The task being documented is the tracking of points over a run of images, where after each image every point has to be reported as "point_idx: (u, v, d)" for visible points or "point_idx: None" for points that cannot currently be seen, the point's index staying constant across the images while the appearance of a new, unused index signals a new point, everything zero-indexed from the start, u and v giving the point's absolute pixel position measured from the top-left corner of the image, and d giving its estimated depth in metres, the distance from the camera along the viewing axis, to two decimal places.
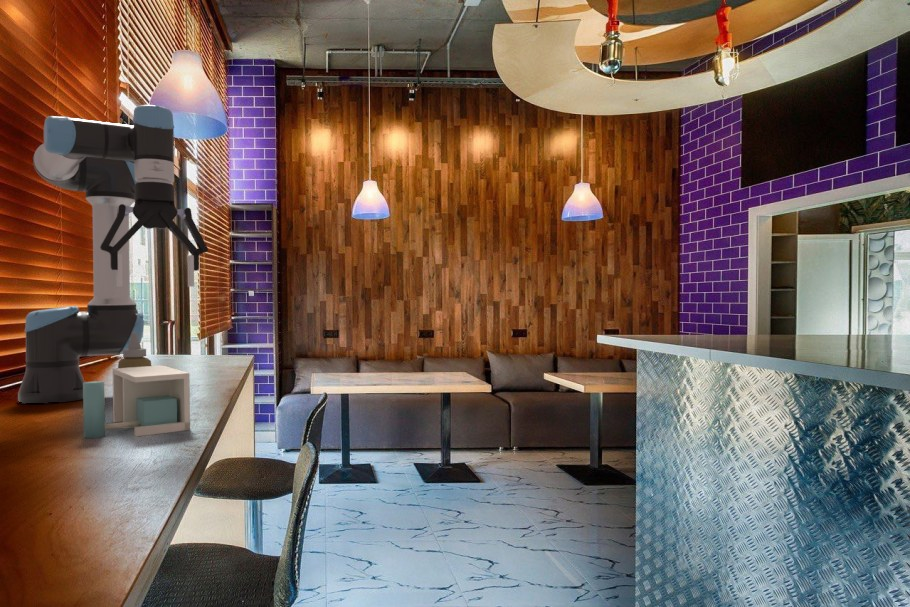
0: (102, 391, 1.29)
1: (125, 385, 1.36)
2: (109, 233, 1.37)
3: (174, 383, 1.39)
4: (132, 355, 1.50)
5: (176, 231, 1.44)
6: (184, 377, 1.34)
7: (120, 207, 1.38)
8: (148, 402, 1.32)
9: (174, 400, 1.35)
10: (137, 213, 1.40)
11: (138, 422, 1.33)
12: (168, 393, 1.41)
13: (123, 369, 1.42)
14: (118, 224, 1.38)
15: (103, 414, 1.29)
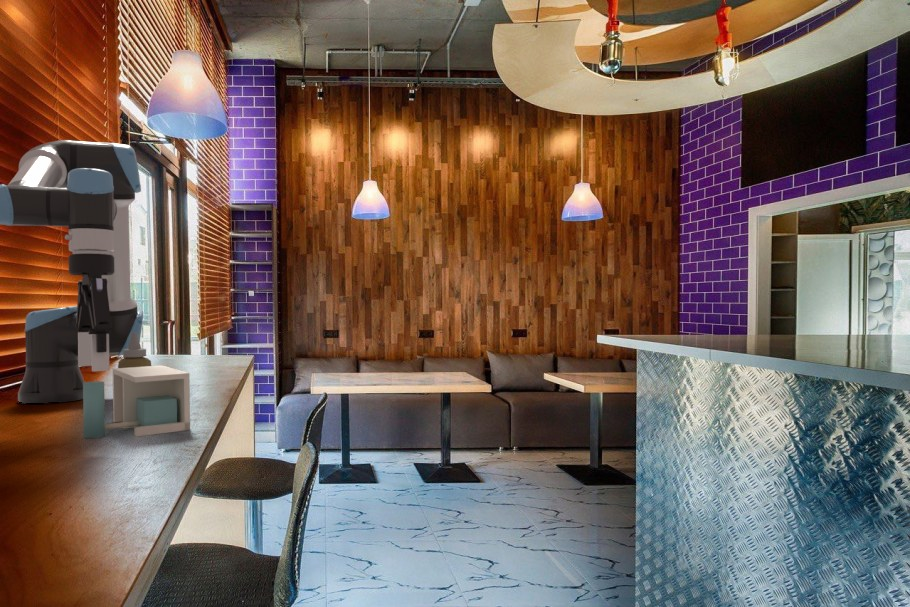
0: (102, 391, 1.29)
1: (125, 385, 1.36)
2: (76, 311, 1.35)
3: (174, 383, 1.39)
4: (132, 355, 1.50)
5: (88, 306, 1.25)
6: (184, 377, 1.34)
7: (78, 284, 1.33)
8: (148, 402, 1.32)
9: (174, 400, 1.35)
10: None
11: (138, 422, 1.33)
12: (168, 393, 1.41)
13: (123, 369, 1.42)
14: (78, 302, 1.33)
15: (103, 414, 1.29)
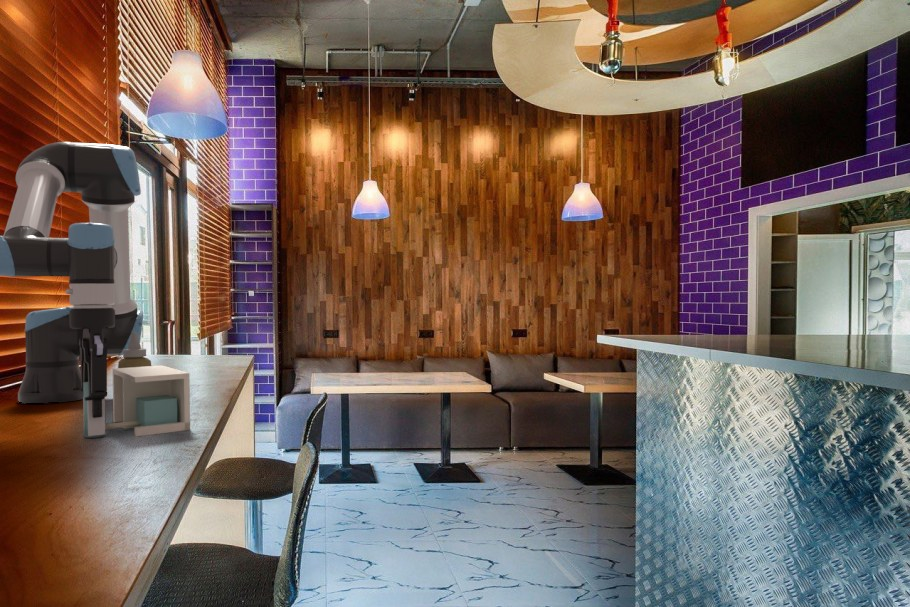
0: None
1: (125, 385, 1.36)
2: (80, 374, 1.32)
3: (174, 383, 1.39)
4: (132, 355, 1.50)
5: (87, 365, 1.27)
6: (184, 377, 1.34)
7: None
8: (148, 402, 1.32)
9: (174, 400, 1.35)
10: None
11: (138, 422, 1.33)
12: (168, 393, 1.41)
13: (123, 369, 1.42)
14: (81, 361, 1.32)
15: None
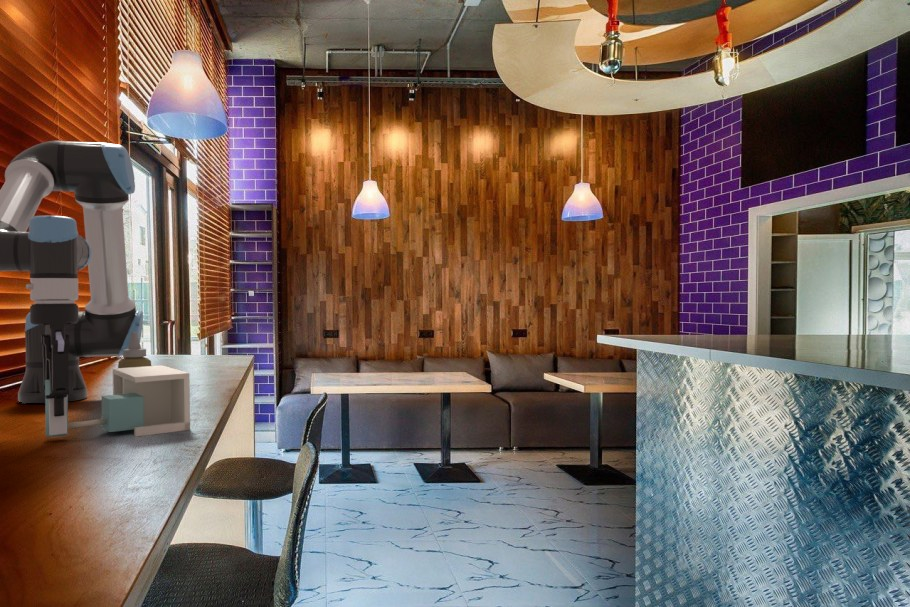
0: None
1: (125, 385, 1.36)
2: (43, 371, 1.29)
3: (174, 383, 1.39)
4: (132, 355, 1.50)
5: (49, 362, 1.23)
6: (184, 377, 1.34)
7: None
8: (113, 400, 1.28)
9: (140, 398, 1.31)
10: None
11: (103, 421, 1.30)
12: (168, 393, 1.41)
13: (123, 369, 1.42)
14: (43, 358, 1.28)
15: None
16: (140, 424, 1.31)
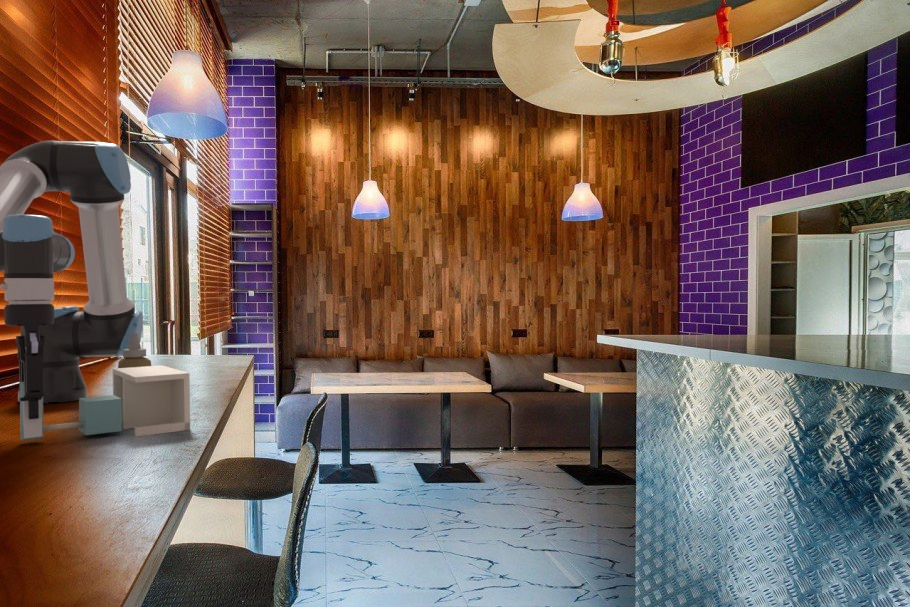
0: None
1: (125, 385, 1.36)
2: (19, 373, 1.26)
3: (174, 383, 1.39)
4: (132, 355, 1.50)
5: (23, 364, 1.21)
6: (184, 377, 1.34)
7: None
8: (90, 402, 1.26)
9: (118, 400, 1.29)
10: None
11: (80, 423, 1.27)
12: (168, 393, 1.41)
13: (123, 369, 1.42)
14: (19, 360, 1.26)
15: None
16: (118, 427, 1.29)
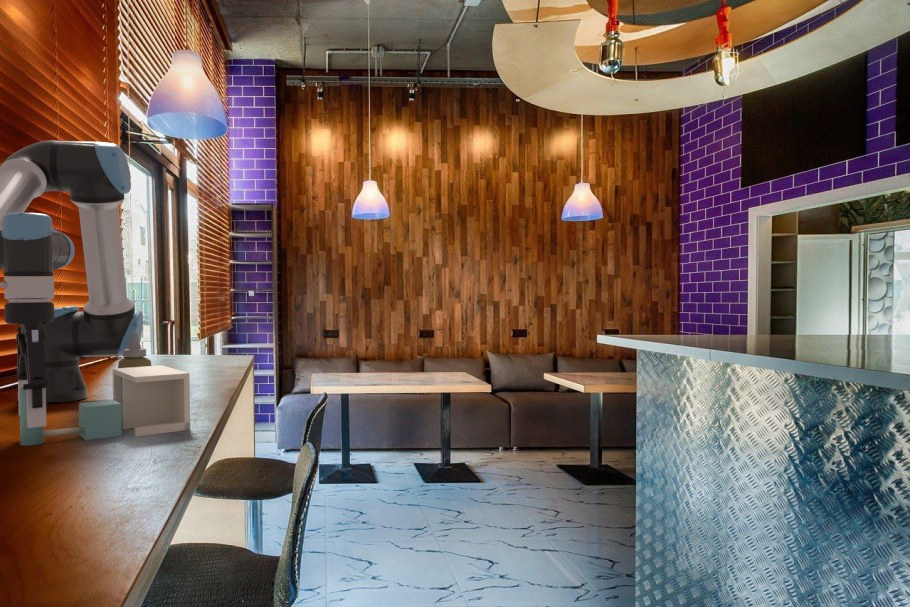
0: None
1: (125, 385, 1.36)
2: (17, 358, 1.29)
3: (174, 383, 1.39)
4: (132, 355, 1.50)
5: (25, 358, 1.19)
6: (184, 377, 1.34)
7: None
8: (90, 407, 1.26)
9: (118, 405, 1.29)
10: None
11: (80, 428, 1.27)
12: (168, 393, 1.41)
13: (123, 369, 1.42)
14: None
15: None
16: (118, 432, 1.29)
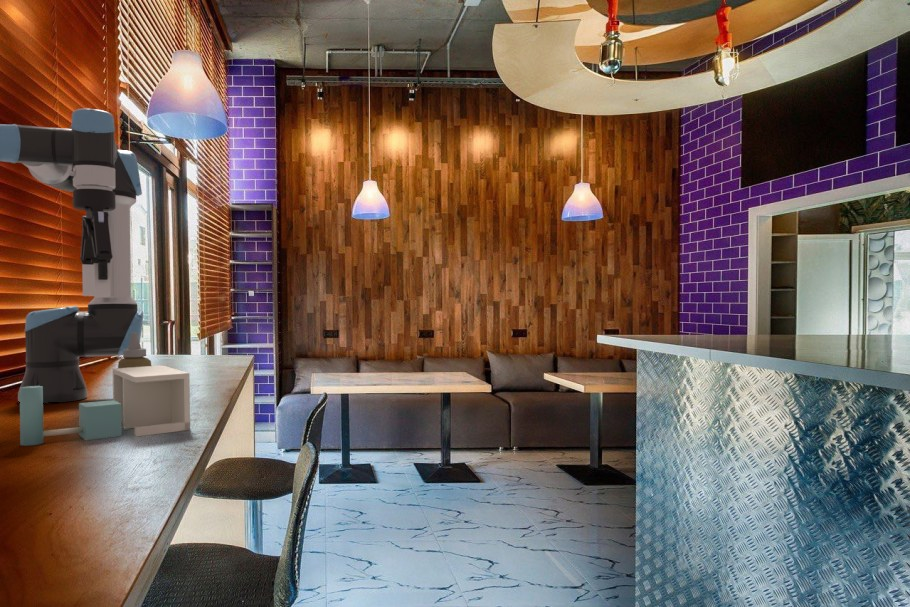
0: (40, 396, 1.23)
1: (125, 385, 1.36)
2: (81, 245, 1.44)
3: (174, 383, 1.39)
4: (132, 355, 1.50)
5: (91, 238, 1.34)
6: (184, 377, 1.34)
7: (82, 219, 1.42)
8: (90, 407, 1.26)
9: (118, 405, 1.29)
10: None
11: (80, 428, 1.27)
12: (168, 393, 1.41)
13: (123, 369, 1.42)
14: (82, 236, 1.43)
15: (41, 420, 1.23)
16: (118, 432, 1.29)
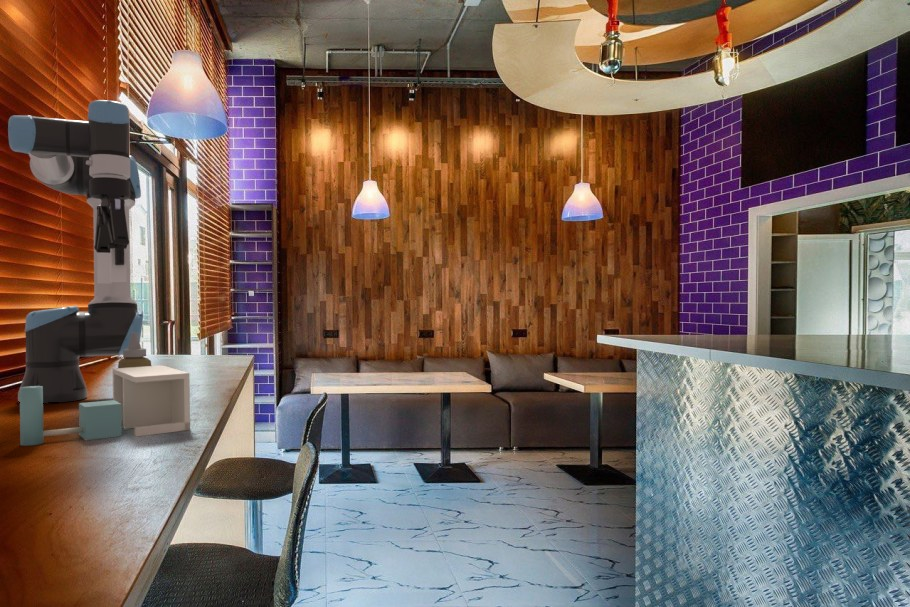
0: (40, 396, 1.23)
1: (125, 385, 1.36)
2: (95, 234, 1.48)
3: (174, 383, 1.39)
4: (132, 355, 1.50)
5: (107, 225, 1.38)
6: (184, 377, 1.34)
7: (97, 208, 1.46)
8: (90, 407, 1.26)
9: (118, 405, 1.29)
10: None
11: (80, 428, 1.27)
12: (168, 393, 1.41)
13: (123, 369, 1.42)
14: (97, 225, 1.47)
15: (41, 420, 1.23)
16: (118, 432, 1.29)
